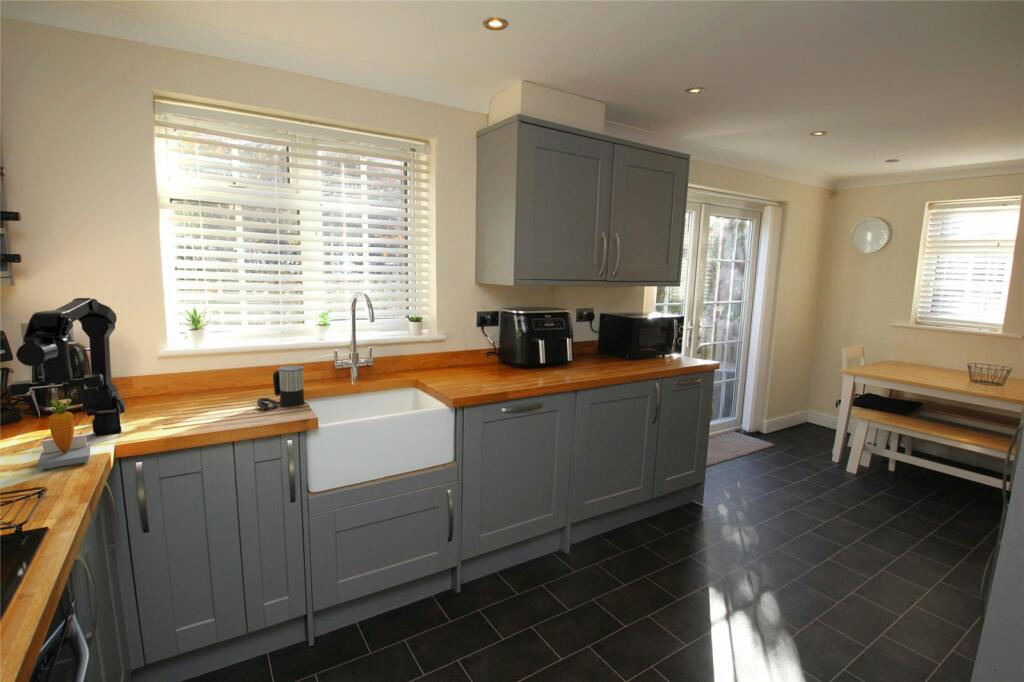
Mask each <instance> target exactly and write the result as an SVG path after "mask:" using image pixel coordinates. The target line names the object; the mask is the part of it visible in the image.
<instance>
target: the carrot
mask: <svg viewBox="0 0 1024 682" xmlns="http://www.w3.org/2000/svg"><path fill="white" fill-rule="evenodd" d="M71 402H72V401H71V400H67V401H66V402H65V404H64V403H63V402H62V400H58V401H55V399H52V400H50V402H49V403H50V404H51V405H52V406H53V407H50V410H52V411H53V412H54V413H53V414H51V415H50V416H48V426H49V428H50V434H51V437H52V439H53V440H54V442H55V444H56V446H57V447H58V448H59V450H60V451H61V452H63V453H66V452H67V451H68V450H69V448H70V446H71V443H72V441H73V436H75V434H74V433H75V420H74V419H75V418H74V417H75V416H74V414H73V413H72V412H70V411H66V410H67V409H68V407H69V406H70V404H71Z"/></svg>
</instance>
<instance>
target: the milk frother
mask: <svg viewBox="0 0 1024 682" xmlns="http://www.w3.org/2000/svg"><path fill="white" fill-rule="evenodd" d="M304 368H305V367H304V366H302V365H285V366H280V367H278V369H277V370H275V371H274V372H273V374H272V382H273V390H274V391H273V392H274V395H275V396H276V397H279V396H280V397H279V401H276V400H273V399H271V398H267V397H261V398H258V399H257V401H256V405H257V406H258V407H259V408H261V409H263V410H273V409H276V408H277V405H278V404H279V406H280V407H284V408H285V407H287V408H290V407H291V408H293V407H292V406H295V407H300V406H303V405H305V403H306V401H305V393H304V392H305V391H304ZM271 404H272V405H271ZM299 405H300V406H299Z"/></svg>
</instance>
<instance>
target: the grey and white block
mask: <svg viewBox="0 0 1024 682" xmlns="http://www.w3.org/2000/svg"><path fill="white" fill-rule="evenodd" d="M41 442H42V450H43V451H42V452H41V453H40V456H39V459H38V461H37V471H38V470H41V471H47V470H49V469H51V468H55V467H62V466H63V467H64V466H68V465H74V464H80V465H84V464H86V463H88V462H90V456H91V455H90V454H91V447H90V444H88V440H87V434H86V433H82V434H77V435H75V434H74V435H73V441H72V443H71V446H70V448H69V450H68V451H67V452H66V453H63V452H61V451H60V450H59V448H58V447H57V446H56V444H55V442H54V440H53V438H48V439H47V438H46V439H42V441H41Z"/></svg>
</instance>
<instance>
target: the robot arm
mask: <svg viewBox="0 0 1024 682" xmlns="http://www.w3.org/2000/svg"><path fill="white" fill-rule="evenodd" d="M76 321H78V322H79V323H80V324H81V330H82V331H83V332H84V333H85V335H86V336H87V337H88V338H89V339H88V340H89V356H90V357H89V358H90V374H84V376H83V378H82V377H81V378H74V376H73V369H72V367H71V366H72V365H71V358H70V350H69V340H71V336H69V334H70V330H71V329H73V327H74V325H73V323H75V322H76ZM116 322H117V313H116V312H114V310H113V309H112V308H111V307H110V306H108V305H106V304H104V303H101V302H99V301H98V300H97V299H96V298H93V297H76V298H74V299H72V300H71V301H70V302H68V303H66V304H64V305H62V306H60V307H58V308H56V309H53V310H41V311H36V312H34V313H33V314H32V315H31V317H30V319H29V322H28V324H27V327H26V329H25V330H26V331H25V334H24V336H23V340H24V344H22V345H21V346H19V347H18V349H17V351H16V352H15V356H16V359H17V360H18V361H19V362H20V364H22V365H24V366H28V367H35V366H36V372H37V377H38V378H39V379H41V378H42V382H41V381H40V382H32V380H31V379H26V380H25V379H24V380H15V381H14V380H13V381H12V382H11V383H10V384H9V385H8V387H7V392H8V396H9V397H13V396H16V399H22V400H23V402H25V403H26V404H27V406H28V407H29V408H30V410H31V411H32V412H33V414H34V415H35V417H36V418H37V419H40V418H41V414H40V413H41V412H40V409H39V405H38V403H37V399H36V394H35V393H36V392H35V391H37V390H45V389H46V390H47V389H48V390H49V389H55V388H56V389H59V388H68V387H75V386H84V387H83V393H82V413H86V414H87V417H91V416H93V418H92V420H91V425H92V433H94V435H95V436H96V437H98V436H104V435H111V434H120V433H122V425H121V418H120V417H121V416H120V414H124V413H126V406H127V405H126V403H125V401H124V400H123V399H122V397H121V396H120V395H119V389H118V388H117V387H116V385H114V383H113V382H112V370H111V369H112V368H111V367H112V366H111V348H110V336H111V335H112V333H113V332H114V330H115V329H116ZM73 378H74V379H73Z"/></svg>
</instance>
